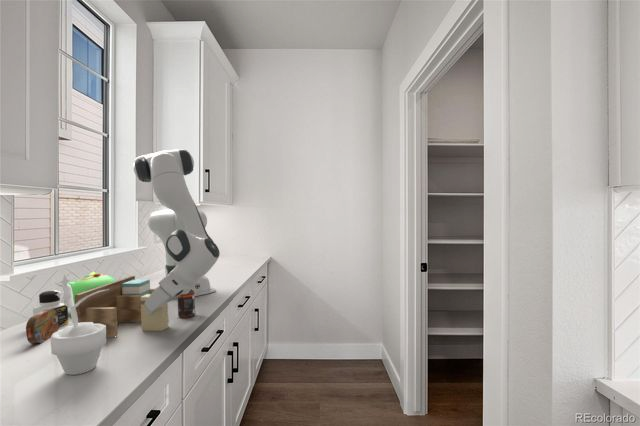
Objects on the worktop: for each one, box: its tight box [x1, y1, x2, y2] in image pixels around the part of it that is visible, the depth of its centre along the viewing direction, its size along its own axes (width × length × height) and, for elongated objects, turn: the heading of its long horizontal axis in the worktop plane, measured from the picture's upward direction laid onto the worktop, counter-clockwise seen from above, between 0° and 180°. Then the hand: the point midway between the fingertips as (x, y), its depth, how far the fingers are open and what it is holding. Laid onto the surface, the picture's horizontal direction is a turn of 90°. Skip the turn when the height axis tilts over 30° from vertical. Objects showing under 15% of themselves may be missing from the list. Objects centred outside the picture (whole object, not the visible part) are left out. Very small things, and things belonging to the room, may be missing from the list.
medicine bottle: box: [32, 289, 69, 327], centre depth 127 cm, size 7×7×12 cm
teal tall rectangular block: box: [122, 278, 151, 296], centre depth 135 cm, size 6×7×13 cm
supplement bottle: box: [176, 289, 196, 319], centre depth 134 cm, size 6×6×11 cm
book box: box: [140, 294, 169, 332], centre depth 121 cm, size 7×4×11 cm, turn 87°
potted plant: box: [50, 273, 109, 376], centre depth 91 cm, size 13×12×25 cm
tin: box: [25, 308, 60, 345], centre depth 114 cm, size 15×3×8 cm, turn 12°
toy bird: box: [58, 271, 117, 305], centre depth 147 cm, size 18×17×15 cm
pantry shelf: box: [75, 275, 157, 338], centre depth 126 cm, size 10×30×14 cm, turn 177°
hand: (152, 310), depth 121 cm, fingers closed on book box, 4 cm apart
